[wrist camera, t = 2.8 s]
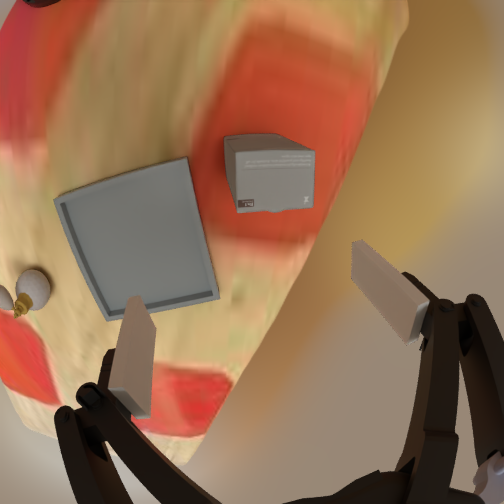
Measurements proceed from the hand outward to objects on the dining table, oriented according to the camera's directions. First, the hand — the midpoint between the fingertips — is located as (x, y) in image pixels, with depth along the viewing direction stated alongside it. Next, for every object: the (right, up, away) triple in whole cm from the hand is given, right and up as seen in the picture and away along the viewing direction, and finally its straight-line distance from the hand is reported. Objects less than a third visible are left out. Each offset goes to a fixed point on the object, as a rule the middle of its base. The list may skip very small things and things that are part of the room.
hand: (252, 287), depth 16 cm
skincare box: (0, +16, +24) cm, 29 cm away
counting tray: (-18, +3, +26) cm, 32 cm away
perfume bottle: (-42, -3, +25) cm, 48 cm away
